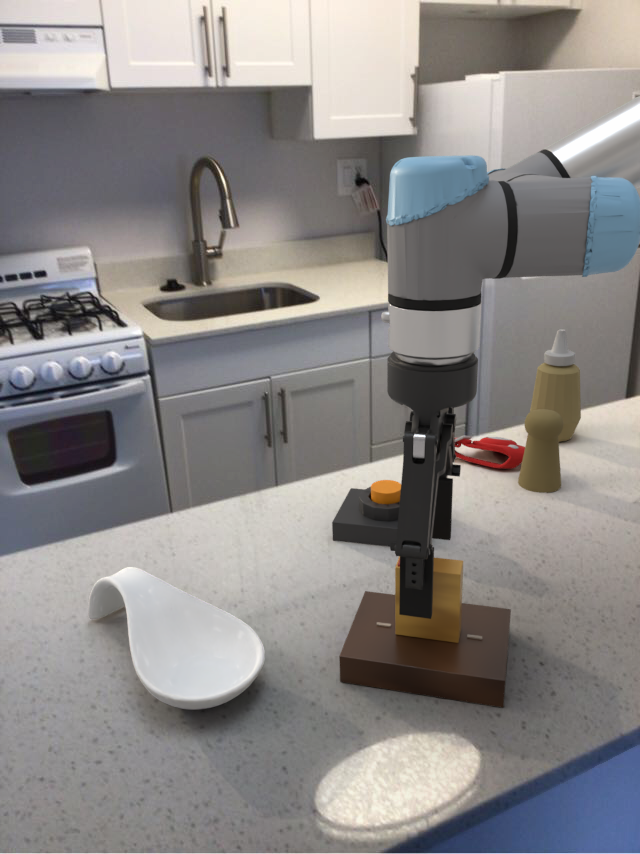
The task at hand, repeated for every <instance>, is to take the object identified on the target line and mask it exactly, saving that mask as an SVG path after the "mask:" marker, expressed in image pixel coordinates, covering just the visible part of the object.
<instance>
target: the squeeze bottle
mask: <svg viewBox="0 0 640 854" xmlns="http://www.w3.org/2000/svg"><path fill="white" fill-rule="evenodd" d="M543 361H544V362H542V363H541V364H539V365H538V366H537V369H536V375H535V381H534V385H533V386H534V387H533V392H532V397H531V403H530V409H529V413H530V412H531V411H534V410H539V409H546V410H552V411H555V412H557V413H559V414H560V415H561V417H562V419H563V429H562V432H561V433H560V434H559V436H558V441H559V443H560V442H567V441H569V440H571V439H572V438H573V436H574V433H575V431H576V430H577V428H578V425H579V423H580V421H581V418H582V411H581V410H582V408H581V407H582V405H581V404H582V403H581V369H580V367H579V366H578V365H577V364H575V363H576V362H575V361H576V353H575V351H573V350H570V349H569V345H568V339H567V330H566V329H565V328H564V329H562V328H560V329H557V331H556V334H555V337H554V341H553V344H552V347H551V349H546V351H544V356H543Z"/></svg>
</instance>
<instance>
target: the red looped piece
mask: <svg viewBox="0 0 640 854" xmlns="http://www.w3.org/2000/svg"><path fill="white" fill-rule="evenodd" d="M462 446H464V447H467V448H470V449H476V450H483V451H488V452H489V451H490V452H496V453H500V454H503V455H505V456H507V457H508V458H507V459H506V460H505V462H503V463H498V462H494V461H489V460H486V459H481V458H477V457H472V456H468V455H465V454H462V453H461V452H459V451H457V450H456V449H455V454H456V458H458V459H460V460H462V461H465V462H469V463H473V464H475V465H476V464H477V465H481V466H485V467H489V468H493V469H502V470H503V469H505V470H509V469H510V470H512V469H515V468H518V466H521V465H522V460H523V455H524V451H525V446H523V445H520V444H518V443H517V442H515V440H513V439H509V438H506V437H501V436H486V437H481V439H479V440H472V436H471V435H465V434H464V435H461V436H458V437H457V436H456V437H455V448H457V449H460V448H461V447H462Z"/></svg>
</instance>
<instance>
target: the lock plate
mask: <svg viewBox="0 0 640 854" xmlns="http://www.w3.org/2000/svg"><path fill="white" fill-rule="evenodd" d="M511 612H512V609H511V608H505V607H497V606H490V605H489V606H488V605H483V604H482V605H481V604H473V603H472V604H471V603H464V602H462V617H461V631H460V637H459V642H458V643H455V642H447V641H440V640H433V639H426V638H418V637H411V636H404V635H397V634H396V633H395V594H392V593H383V592H378V591H377V592H376V591H369V590H365V591H364V593H363V595H362V598H361V600H360V603H359V605H358V608H357V610H356V614H355V615H354V618H353V620H352V623H351V625H350V628H349V630H348V633H347V636H346V639H345V641H344V643H343V645H342V648H341V651H340V654H339V656H338V657H339V658H338V659H339V681H340V683H345V684H350V685H357V686H364V687H371V688H377V689H383V690H390V691H395V692H402V693H409V694H414V695H421V696H426V697H434V698H439V699H445V700H451V701H452V700H453V701H459V702H463V703H465V702H466V703H470V704H477V705H483V706H491V707H497V708H502V709H503V708H504V707H505V696H506V695H505V694H506V680H507V670H508V669H507V667H508V658H509V657H508V656H509V645H510V643H509V642H510V630H511V614H512V613H511Z"/></svg>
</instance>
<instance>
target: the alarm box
mask: <svg viewBox="0 0 640 854" xmlns="http://www.w3.org/2000/svg"><path fill="white" fill-rule="evenodd" d="M346 494H347V495H346V496H345V498H344V499H343V501H342V503H341V505H340V507H339V509H338V511H337V513H336V514H335V515H334V518H333V519H332V522H331V526H332V528H331V529H332V541H334V542H344V543H351V544H352V543H354V544H361V545H370V546H371V545H372V546H379V547H381V546H382V547H389V548H390V543H391V542H395V543H396V540H397V528H398V516H399V505H400V502H398V503H394V504H378V503H376V502H373V501H372V500H371V486H369V487H367V488H365V489H364V488H354V487H351V488H350V489H349V490H348V493H346Z"/></svg>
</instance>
